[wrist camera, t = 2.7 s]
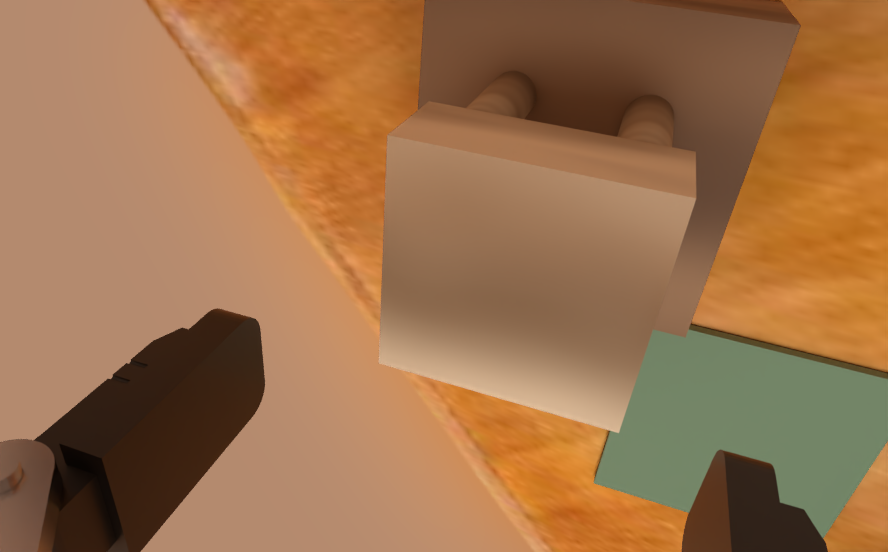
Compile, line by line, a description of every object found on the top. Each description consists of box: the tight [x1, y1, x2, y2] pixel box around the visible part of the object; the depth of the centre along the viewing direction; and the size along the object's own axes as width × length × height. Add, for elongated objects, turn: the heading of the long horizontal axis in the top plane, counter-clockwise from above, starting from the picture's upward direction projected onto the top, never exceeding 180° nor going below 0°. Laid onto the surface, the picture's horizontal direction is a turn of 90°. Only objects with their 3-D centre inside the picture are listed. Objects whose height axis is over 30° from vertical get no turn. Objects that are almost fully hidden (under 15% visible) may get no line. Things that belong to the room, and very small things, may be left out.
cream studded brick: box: [379, 71, 696, 433], centre depth 17 cm, size 6×6×8 cm
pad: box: [594, 324, 888, 538], centre depth 27 cm, size 10×10×1 cm
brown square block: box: [418, 0, 801, 338], centre depth 21 cm, size 10×10×4 cm
